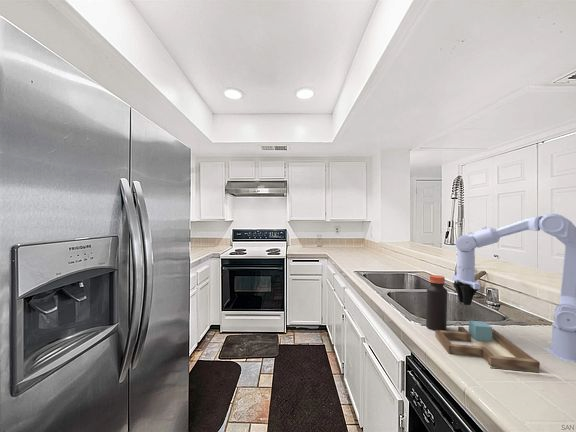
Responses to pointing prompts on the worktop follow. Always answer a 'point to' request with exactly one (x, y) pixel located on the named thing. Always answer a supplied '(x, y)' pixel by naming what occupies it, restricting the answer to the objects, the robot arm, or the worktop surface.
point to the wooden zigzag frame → (489, 350)
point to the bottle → (436, 304)
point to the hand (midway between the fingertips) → (464, 303)
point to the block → (480, 331)
